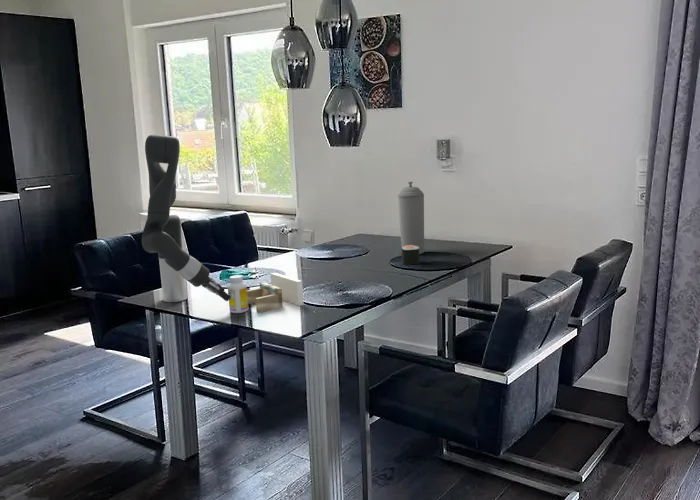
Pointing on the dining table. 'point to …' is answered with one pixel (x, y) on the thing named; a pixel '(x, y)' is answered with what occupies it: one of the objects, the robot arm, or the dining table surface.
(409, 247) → the sushi
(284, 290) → the backstop board
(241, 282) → the supplement bottle
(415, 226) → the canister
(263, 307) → the cradle
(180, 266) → the robot arm
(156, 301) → the dining table surface
